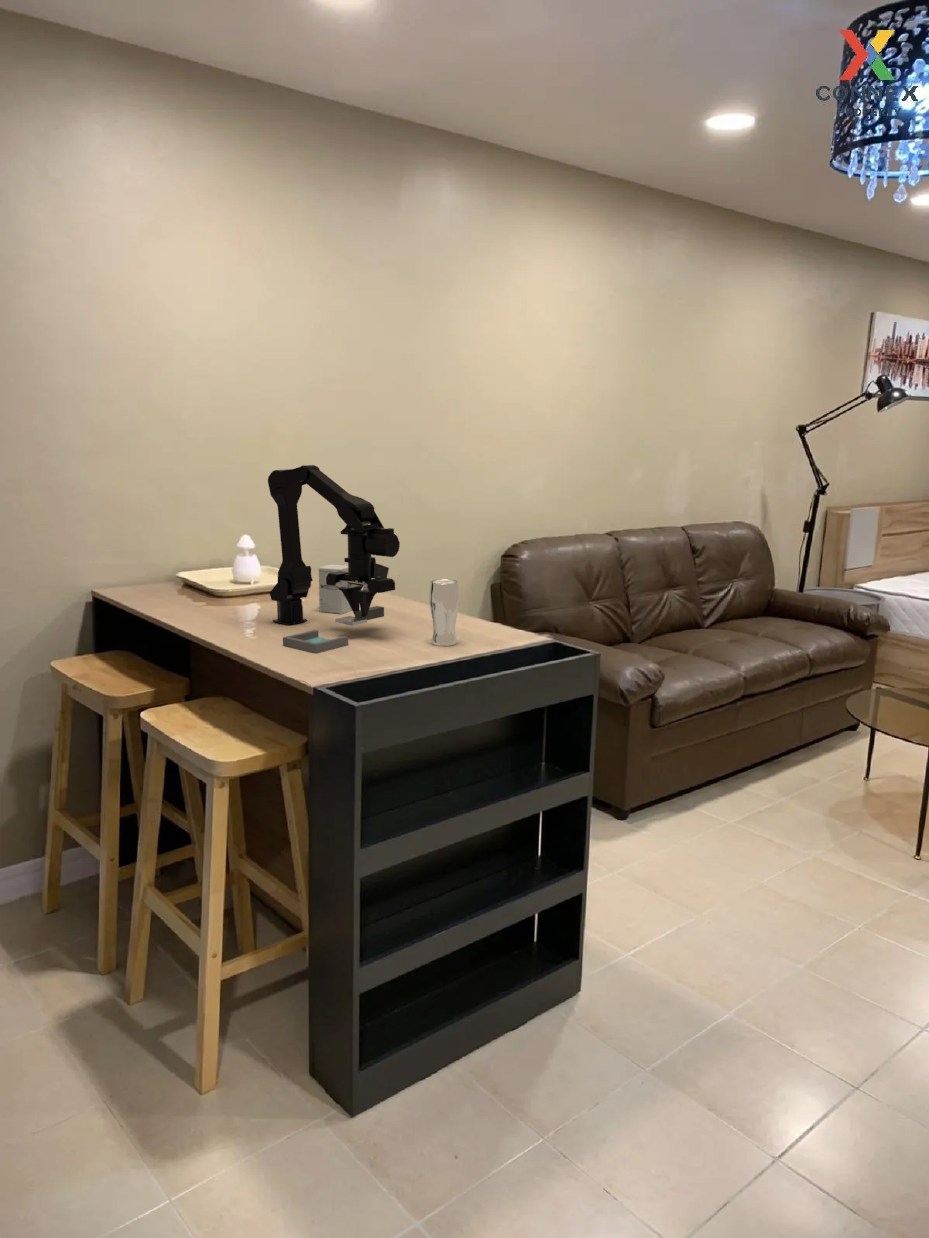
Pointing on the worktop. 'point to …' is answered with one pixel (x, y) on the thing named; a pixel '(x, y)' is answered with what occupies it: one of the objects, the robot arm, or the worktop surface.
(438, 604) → the beer glass
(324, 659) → the worktop surface
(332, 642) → the corral
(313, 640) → the tile
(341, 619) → the turner
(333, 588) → the supplement box
